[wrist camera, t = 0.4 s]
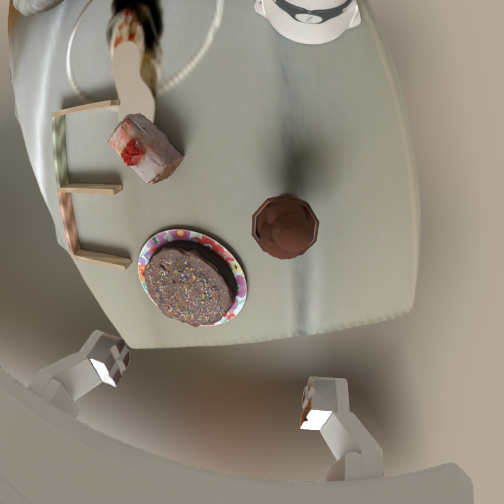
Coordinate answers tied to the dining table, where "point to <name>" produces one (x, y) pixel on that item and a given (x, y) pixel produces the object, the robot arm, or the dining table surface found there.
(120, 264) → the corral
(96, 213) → the dining table surface
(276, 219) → the ice cream bowl
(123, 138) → the food item
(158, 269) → the chocolate cake
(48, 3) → the gourd
